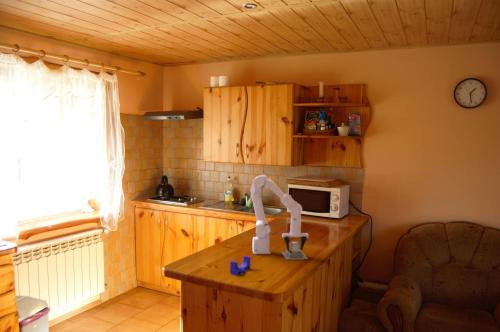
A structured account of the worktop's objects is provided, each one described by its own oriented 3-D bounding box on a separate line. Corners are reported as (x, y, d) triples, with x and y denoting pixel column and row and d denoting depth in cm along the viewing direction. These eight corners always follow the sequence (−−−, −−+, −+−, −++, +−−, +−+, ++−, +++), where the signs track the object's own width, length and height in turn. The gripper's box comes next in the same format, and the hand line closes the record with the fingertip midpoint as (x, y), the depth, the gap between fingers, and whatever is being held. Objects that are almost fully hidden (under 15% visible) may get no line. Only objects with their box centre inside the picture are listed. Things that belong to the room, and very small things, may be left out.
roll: (291, 256, 216) (291, 244, 215) (289, 254, 220) (290, 241, 219) (299, 256, 216) (299, 244, 215) (297, 254, 220) (298, 241, 220)
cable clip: (237, 275, 186) (237, 263, 185) (230, 273, 189) (230, 261, 188) (252, 269, 196) (252, 257, 195) (245, 267, 198) (245, 255, 198)
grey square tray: (286, 259, 211) (286, 255, 211) (281, 253, 223) (281, 248, 223) (307, 259, 213) (308, 254, 213) (301, 252, 225) (302, 248, 225)
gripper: (284, 227, 212) (283, 252, 213) (310, 227, 214) (309, 251, 215) (281, 224, 219) (280, 248, 220) (306, 224, 221) (305, 248, 222)
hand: (294, 250), depth 218 cm, fingers open, 7 cm apart
